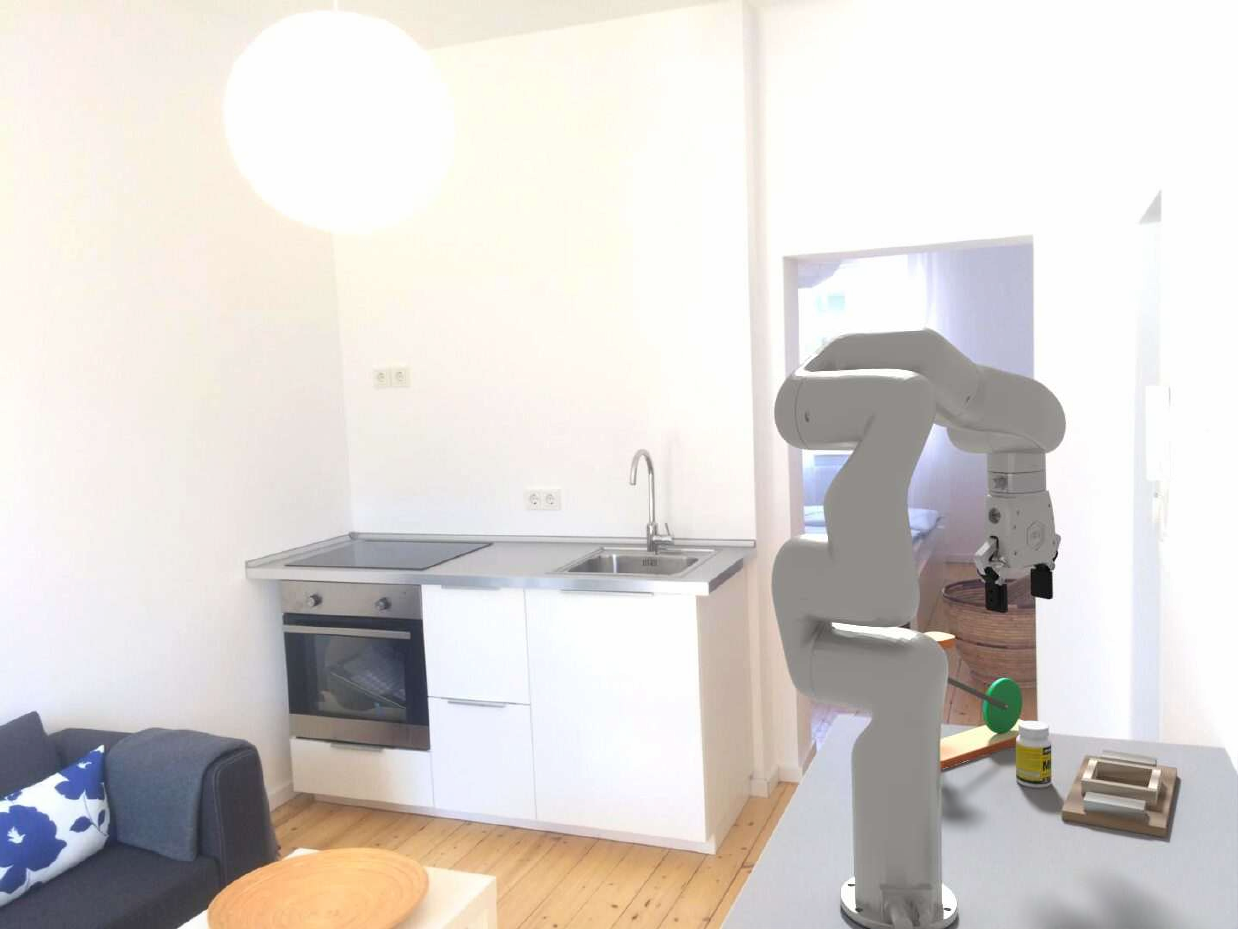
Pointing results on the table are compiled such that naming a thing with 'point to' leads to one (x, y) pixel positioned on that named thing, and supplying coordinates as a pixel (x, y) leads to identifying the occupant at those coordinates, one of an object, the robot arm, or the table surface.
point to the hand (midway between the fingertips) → (1019, 604)
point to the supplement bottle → (1033, 755)
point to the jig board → (1122, 793)
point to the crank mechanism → (997, 713)
